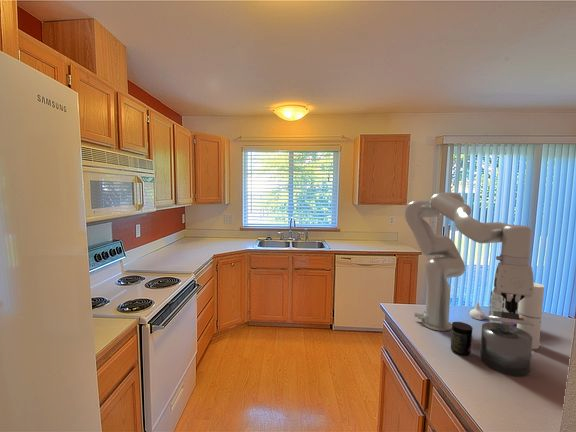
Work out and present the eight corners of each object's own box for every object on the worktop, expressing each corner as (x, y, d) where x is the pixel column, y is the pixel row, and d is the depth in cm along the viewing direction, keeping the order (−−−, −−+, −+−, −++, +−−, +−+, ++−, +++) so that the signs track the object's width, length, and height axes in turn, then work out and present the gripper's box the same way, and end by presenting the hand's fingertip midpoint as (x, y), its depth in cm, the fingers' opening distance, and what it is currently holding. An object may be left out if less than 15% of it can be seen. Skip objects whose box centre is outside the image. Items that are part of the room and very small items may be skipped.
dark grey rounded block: (487, 371, 94) (489, 337, 93) (475, 349, 107) (477, 319, 106) (538, 381, 89) (541, 345, 88) (518, 356, 102) (521, 326, 101)
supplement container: (468, 359, 101) (470, 332, 100) (448, 351, 105) (449, 325, 105) (472, 351, 106) (474, 325, 105) (452, 344, 110) (454, 320, 109)
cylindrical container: (510, 339, 114) (515, 281, 112) (526, 339, 115) (531, 281, 113) (527, 349, 107) (532, 287, 105) (543, 348, 108) (549, 287, 106)
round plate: (474, 317, 107) (474, 308, 108) (521, 324, 102) (521, 314, 103) (488, 320, 93) (487, 309, 94) (543, 327, 88) (542, 316, 89)
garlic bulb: (487, 321, 132) (490, 305, 131) (474, 320, 132) (477, 304, 131) (478, 315, 138) (481, 300, 137) (466, 314, 138) (468, 299, 137)
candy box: (507, 319, 133) (509, 286, 131) (521, 324, 127) (524, 290, 126) (487, 324, 128) (490, 289, 127) (501, 329, 122) (504, 294, 121)
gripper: (492, 261, 94) (489, 312, 96) (547, 265, 89) (543, 319, 91) (485, 256, 101) (482, 304, 103) (535, 260, 96) (531, 310, 98)
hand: (510, 311), depth 97 cm, fingers closed
